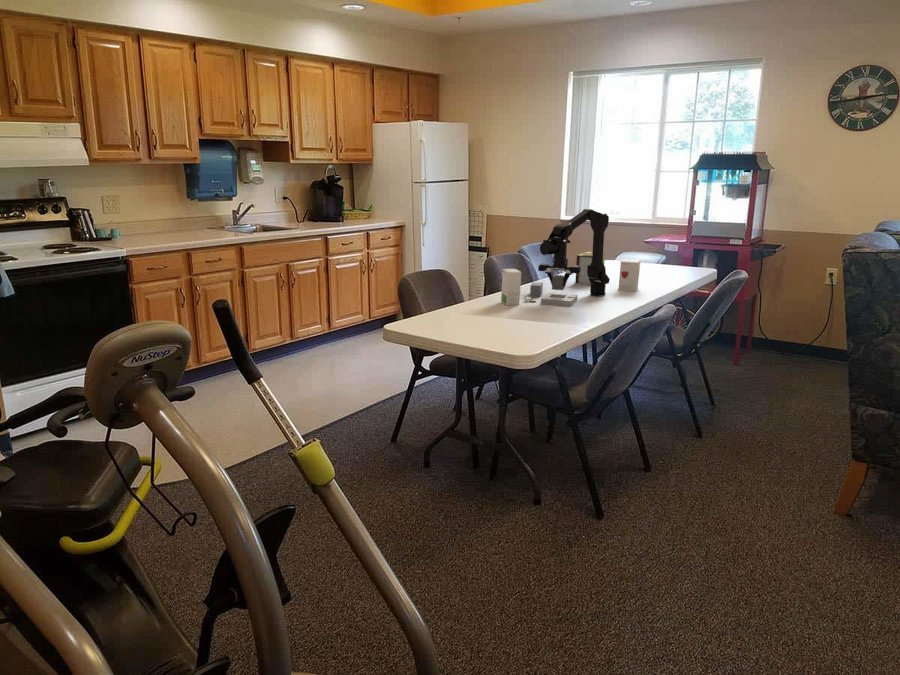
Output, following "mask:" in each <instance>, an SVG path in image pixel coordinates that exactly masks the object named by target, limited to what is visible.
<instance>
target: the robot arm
mask: <svg viewBox="0 0 900 675" xmlns="http://www.w3.org/2000/svg"><path fill="white" fill-rule="evenodd" d="M587 221H589V222H590V227H591V230H592V232H593V234H592V252H593V253H592V262H591V264H590V265H588V266H587V274H588V277H589V281H590V282H592V285H590V287H589V288H590V289H589V291H590V292H589V293H590V296H594V297H595V296H597V297H598V296H599V297H604V296H606V287H607V286H606V285H607V284H610V277H609V276H608V275H607V271H606V270H607V269H606V266H605V263H604V264H603V253H604V242H605V239H604V238H605V231H606V230H607V229H608V227H609V222H610V217H609V215H608V214H607V213H605V212H598V211H597V210H593V209H591V208H584V209H582V211H581V212H579V213H578V214H576V215H575V216H573V217H572V218H571V219H569V220H568V221H566V222H562V223H558V224H557V225H556V224H555V226H553V228H552V231H551V232H550V234H549V235H548V238H547V239H543V241H542V242H541V244H540V246H539V251H540V253H541V255H543V256H546V255H547V256H548V255H553V257H552V265H550V263H543V262H542V263H540V264H539V265H538V268H537V269H538V272H544V273H545V274H547V277H548V279H549V282H550V285H552V277H553V276H554V271H565V273H564V287H565V288H566V285H567V283H568V280H569V278H570V276H572V275H573V274H576V273H579V272H581V267H580V266H576V264H573V265H572V264H571V266H569V265H568V264H569V259H568V258H567V251H568V250H567V248H568V244H571V240H569V239H568V238H569V237H571V235H572V234H573V232H574V230H575V229H577V228H578V227H580V226H581V225H583V224H584V223H585V222H587Z"/></svg>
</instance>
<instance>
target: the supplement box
mask: <svg viewBox="0 0 900 675" xmlns="http://www.w3.org/2000/svg"><path fill="white" fill-rule="evenodd" d="M640 267H641V260H640V259H630V258H629V259H627V258H626V259H625V258H622V259H621V261H620V267H619V277H618V278H619V279H618V291H626V292H637V290H638V288H639V278H640V269H641V268H640Z"/></svg>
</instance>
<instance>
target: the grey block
mask: <svg viewBox="0 0 900 675" xmlns="http://www.w3.org/2000/svg"><path fill="white" fill-rule="evenodd" d="M564 276H565V274H564V275H563V274H553V277H552V284H551V290H556V291H563V290H565V288H566V286H565V287H564Z"/></svg>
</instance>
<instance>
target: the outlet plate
mask: <svg viewBox="0 0 900 675" xmlns="http://www.w3.org/2000/svg"><path fill="white" fill-rule="evenodd" d="M577 301H578V295H577V294H568V293H567V294H566V293H556V292H555V293H554V292H547V293H545V295H544V296H541V297H540V304H541V305H549V304H550V305H549V306H551V305H552V306H560V305H562V306H561V307H572V306H573V305H574V304H575V303H576V302H577Z"/></svg>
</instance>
